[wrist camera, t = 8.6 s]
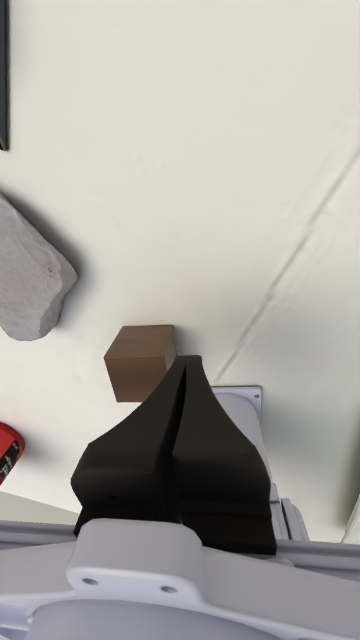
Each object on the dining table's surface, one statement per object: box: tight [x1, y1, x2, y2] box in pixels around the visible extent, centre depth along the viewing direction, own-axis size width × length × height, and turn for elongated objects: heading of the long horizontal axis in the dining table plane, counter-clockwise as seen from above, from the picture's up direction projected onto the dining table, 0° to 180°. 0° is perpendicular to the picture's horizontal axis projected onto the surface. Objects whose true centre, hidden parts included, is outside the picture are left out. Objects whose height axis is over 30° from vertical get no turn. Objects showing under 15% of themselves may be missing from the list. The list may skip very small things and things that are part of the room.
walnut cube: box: [104, 325, 176, 402], centre depth 22 cm, size 5×5×5 cm
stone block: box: [0, 193, 78, 341], centre depth 20 cm, size 12×5×10 cm
